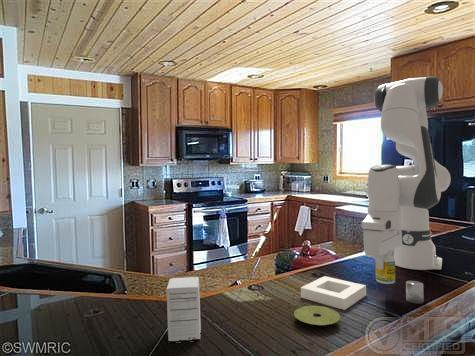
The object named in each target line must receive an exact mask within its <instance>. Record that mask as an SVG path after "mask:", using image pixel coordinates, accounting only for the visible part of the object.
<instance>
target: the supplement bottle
mask: <svg viewBox="0 0 475 356" xmlns="http://www.w3.org/2000/svg"><path fill="white" fill-rule="evenodd" d="M391 255H392V250H390V251H389V252H388V253H386V254H384V258H383V262H384V263H385V268H384V269H383V270H379V269H377V264H376V261H375V260H374V261H375V263H374V264H375V265H374V266H375V280H376V282H377V283H380V284H385V285H390V284H392V285H393V284H394V283H396V265H395V258H394V257H393V256H391Z"/></svg>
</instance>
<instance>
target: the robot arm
mask: <svg viewBox="0 0 475 356" xmlns="http://www.w3.org/2000/svg"><path fill="white" fill-rule="evenodd" d="M374 91H375V92H374V97H373V101H374V105H375V108H376V109H377V110H378V111H380V112H381V114H380V115H381V117H380V129H381V132H382V134H383V135H384V136H385V138H387V139H389V140H391V141H392V142H394V143H395V150H396V151H397V153H399V154H400V155H402V156H404V157H406V158H409V159H411V160H412V162H413V165H411V164H410V165H394V164H380V165H373V166H372V167H370V168H369V170H368V175H367V191H366V192H367V198H368V206H367V214H366V216H365V218H364V219H363V220H362V221H361V229H363V236H362V237H363V240H362V241H363V252H364V253H365V256H366V257H368V258H374V261H376V264H377V269H379V270H383V269H384V268H385V263H384V262H383V258H384V254H386V253H388V252H389V251H390V250H392V255H391V256H393V257H394V258H395V267H399V268H404V269H409V270H418V271H419V270H420V271H427V270H428V271H429V270H442V266H443V258H442V257H439V256H438V255H436V251H437V250H436V246H435V244H434V243H433V241H432V229H431V228H430V215H429V213H430V212H429V209H431V208H433V207H434V206H436V205H437V204H438V203H440V199H441V196H442V192H445V191H446V190H448V187H449V186H450V185H451V182H452V180H451V179H452V177H451V173H450V172H449V170H448V169H447V167H445V166H443V165H441V164H440V163H439V162H438V161H437V160H436V159H435V157H434V151H433V146H432V144H433V143H432V139H431V136H430V133H429V123H428V114H427V111H428V112H430V111H431V110H432V108H434V107H436V106H437V105H439V103H440V102H441V99H442V98H443V97H442V96H443V93H444V87H443V84H442V82H441V80H440V79H439V78H438V77H437V76H431V75H429V76H426V77H413V78H406V79H403V80H398V81H394V82H390V83H388V82H387V83H383V84H381V85H379V86H378V87H377V88H376V89H375V90H374Z"/></svg>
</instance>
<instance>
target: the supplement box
mask: <svg viewBox="0 0 475 356" xmlns="http://www.w3.org/2000/svg"><path fill="white" fill-rule="evenodd" d="M200 296H201V295H200V278H199V277H198V276H192V277H191V276H189V277H187V276H186V277H177V278H176V277H172V278H171V277H170V278H169V280H168V283H167V287H166V310H167V311H166V313H167V315H166V316H167V336H168V337H167V338H168V341H179V340H192V339H200V340H201V334H200V333H201V331H202V328H201V327H202V325H201V303H200V302H201V298H200Z"/></svg>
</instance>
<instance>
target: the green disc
mask: <svg viewBox="0 0 475 356" xmlns="http://www.w3.org/2000/svg"><path fill="white" fill-rule="evenodd" d="M293 315H294V317H295V318H296V319H297V320H298V321H300V322H303V323H306V324H309V325H316V326H327V325H333V324H335V323H337V322H339V321H340V319H341V315H340V313H339V312H338V311H337V310H334V309H332V308H331V307H326V306H322V305H304V306H301V307H299V308H297V309H295V310H294V313H293Z"/></svg>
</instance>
